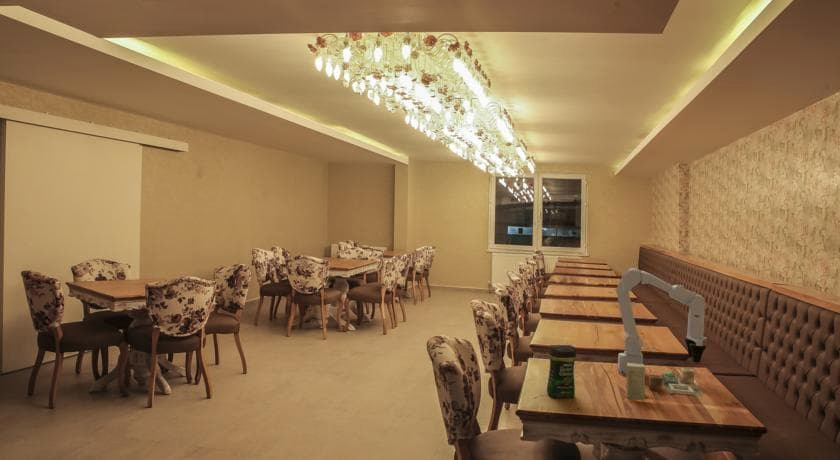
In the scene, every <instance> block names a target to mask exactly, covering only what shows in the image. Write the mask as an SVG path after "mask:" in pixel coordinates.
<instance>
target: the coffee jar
mask: <svg viewBox="0 0 840 460" xmlns="http://www.w3.org/2000/svg"><path fill="white" fill-rule="evenodd" d="M576 350H577V349H576V347H575V346H573V345H571V344H550V346H549V349H548V358H549V370H548V372H549V373H548V379H547V384H546V385H547V386H546V392H547V394H548V395H549V396H550V397H553V398H554V399H555V398H556V399H569V398H570V399H571V398H574V397H575V395H576V393H575V391H576V389H575V386H576V385H575V373H574V372H575V371H574V369H575V362H576V360H577V351H576Z"/></svg>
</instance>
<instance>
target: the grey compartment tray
mask: <svg viewBox="0 0 840 460" xmlns="http://www.w3.org/2000/svg"><path fill="white" fill-rule="evenodd" d="M663 386H664V388H665V390H666V392H667V394H677V395H686V396H696V397H704V394H703V393H702V392H701V390H700V386H699V384H698V382H697V381H696V380H695V379H694V385H690V384H681V383H680V378H678V384H670V383H668V385H664V384H663Z"/></svg>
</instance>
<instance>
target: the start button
mask: <svg viewBox="0 0 840 460" xmlns="http://www.w3.org/2000/svg"><path fill="white" fill-rule="evenodd" d="M674 374H675V373H673V372H671V371H668V372H667V371H666V377H674Z"/></svg>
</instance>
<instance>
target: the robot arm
mask: <svg viewBox="0 0 840 460" xmlns="http://www.w3.org/2000/svg"><path fill="white" fill-rule="evenodd" d="M640 282H641V285H648V284H649V285H652V286H653V287H655V288H658V289H660V290H662V291H664V292H667V293H668V295H669V297H670V298H672V299H673V300H674V301H677V302H680V303H681V304H682V305H685V306H689V307H688V308H689V310H688V311H689V312H688V314H687V315H688V316H687V332H686V333H687V334H686V338H684V342H685V344H686V348H687V353H688V358H692V361H693V363H697V364H698V363H700V362H701V359H702V356H703V353H704V352H705V350H706V349H707V346H706V345H703V341H706V340H707V339H708V337H706V336H704V332H705V316H706V315H705V311H706V310H705V309H706V307H707V304H706V300H705V298H704V297H703V295H700V293H697V292H696V291H694V290H693V291H691V290H689V289H687V288H685V285H682V284H674V285H672V284H671V283H668V282H667V281H664V280H663V279H662V278H659V277H657V276H655V275H654V274H652V273H649V272H647V271H645V270H642V269H639V268H637V267H631V268H629V269H627V271H625V273H623V275H622V276H621V279H620V280H619V283H618V285H617V287H616V290H615V291H616V295H617V296H616V297H617V301H618V306H619V310H620V311H619V312H620V315H621V320H622V325H623V329H624V339H625V344H624V351H623V352H619V353H618V356H617V357H618V358H617V359H618V360H617V363H618V364H617V369H616V370H617V372H618V374H621V375H627V363H635V364H643V361H644V359H643V357H644V354H643V352H642V347H643V340H642V339H641V337H640V336H639V332H638V329H637V325H636V320H635V315H634V310H633V307H632V301H631V297H630V291H631V290H632V289H633V288H634V287H635V286H637V285H638V284H639V283H640Z"/></svg>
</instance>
